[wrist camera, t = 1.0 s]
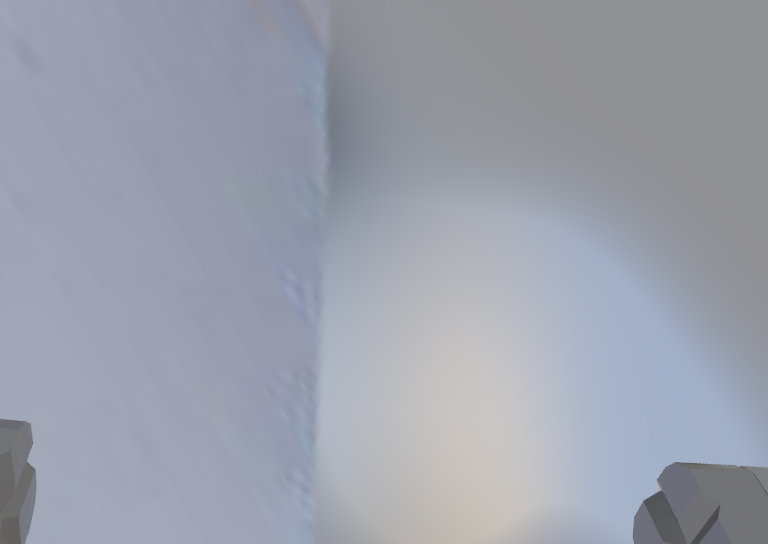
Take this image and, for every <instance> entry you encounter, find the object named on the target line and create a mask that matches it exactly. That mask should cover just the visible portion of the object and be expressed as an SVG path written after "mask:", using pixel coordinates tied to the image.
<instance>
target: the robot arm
mask: <svg viewBox="0 0 768 544" xmlns="http://www.w3.org/2000/svg"><path fill="white" fill-rule="evenodd" d="M32 445H33V438H32V431H31V423H28V422H26V421H16V420H4V419H0V544H25V541H26V538H27V535H28V532H29V529H30V525H31V520H32V515H33V510H34V505H35V497H36V471H35V469H34V468H33V467H32V466H31V465H30V464H29V463H28V462H27V459H28V456H29V453H30V450H31V448H32ZM657 482H658V485H659V488H660V491H659V492H657V493H656V494H654V495H653V496H651V497H649V498H647V499H646V500H644V501H643V503H642V504H641V506H640V508H639V510H638V511H637V513H636V515H635V517H634V528H633V540H634V544H768V468H765V467H764V468H763V467H748V466H739V467H738V466H735V465H719V464H698V463H680V462H679V463H678V462H675V463H673V464H672V465H669V466H667V467H665V469H664V470H663V472H662V473H661V475H660V476H659V478H658V479H657Z"/></svg>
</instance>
